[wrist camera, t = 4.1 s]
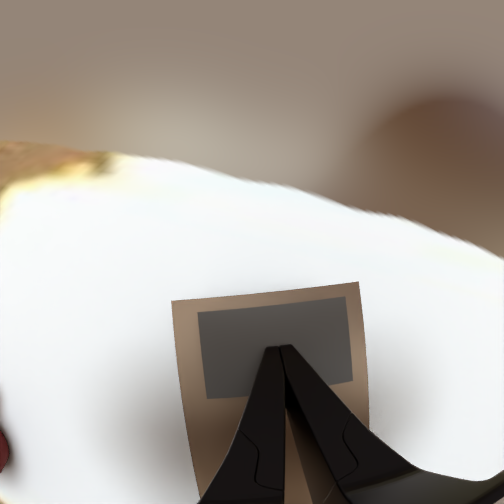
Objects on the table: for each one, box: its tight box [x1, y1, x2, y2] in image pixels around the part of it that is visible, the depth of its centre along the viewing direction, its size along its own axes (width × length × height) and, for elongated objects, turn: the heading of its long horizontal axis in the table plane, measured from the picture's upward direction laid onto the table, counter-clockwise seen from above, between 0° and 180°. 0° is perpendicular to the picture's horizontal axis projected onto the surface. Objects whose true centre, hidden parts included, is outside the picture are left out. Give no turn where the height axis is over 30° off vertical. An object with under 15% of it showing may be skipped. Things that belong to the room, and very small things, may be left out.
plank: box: [171, 282, 369, 504], centre depth 11 cm, size 14×8×4 cm, turn 6°
